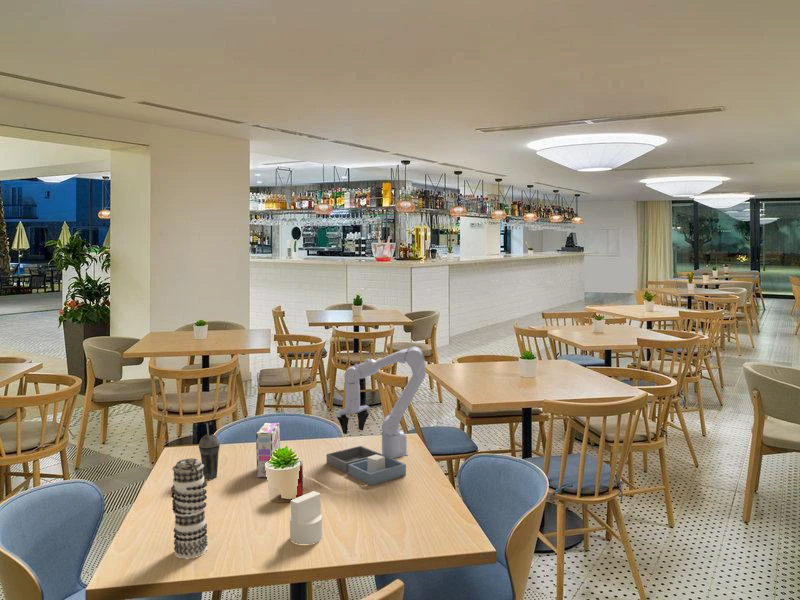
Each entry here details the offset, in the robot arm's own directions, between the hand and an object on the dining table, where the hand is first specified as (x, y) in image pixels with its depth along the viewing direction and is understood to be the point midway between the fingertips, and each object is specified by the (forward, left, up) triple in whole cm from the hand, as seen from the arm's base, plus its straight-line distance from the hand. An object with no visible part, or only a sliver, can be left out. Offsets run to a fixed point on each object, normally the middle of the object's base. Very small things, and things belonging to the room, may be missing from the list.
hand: (353, 431), depth 249 cm
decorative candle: (+79, +37, -10) cm, 88 cm away
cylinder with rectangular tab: (+51, +50, -10) cm, 72 cm away
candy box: (+34, -5, -10) cm, 36 cm away
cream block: (+6, +23, -9) cm, 25 cm away
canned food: (+39, +20, -10) cm, 45 cm away
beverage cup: (+53, -13, -10) cm, 55 cm away
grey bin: (+6, +9, -9) cm, 14 cm away
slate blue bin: (+6, +24, -9) cm, 26 cm away
